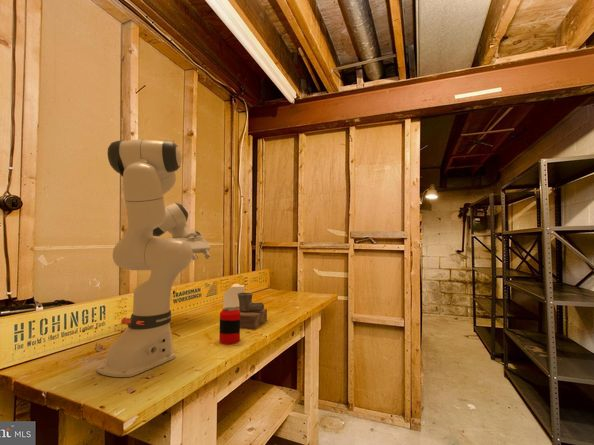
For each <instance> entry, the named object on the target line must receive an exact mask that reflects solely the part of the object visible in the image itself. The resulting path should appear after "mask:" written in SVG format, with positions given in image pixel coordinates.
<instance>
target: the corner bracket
mask: <svg viewBox="0 0 594 445" xmlns="http://www.w3.org/2000/svg"><path fill="white" fill-rule="evenodd" d="M237 293H245V285H244V284H240V283H233V284H232V285H231V286H230V287H229V288H228V289H227V290H226V291H225V292H224V293H223V300H222V301H223V307H222V308H228V307H239V299H238V295H237Z"/></svg>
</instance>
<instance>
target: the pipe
mask: <svg viewBox="0 0 594 445" xmlns="http://www.w3.org/2000/svg"><path fill="white" fill-rule="evenodd" d="M237 295H238V299H239V309H240V311H243V312H246V311H263V310H264V309H265V305H264V303H263V302H253V293H251V292H244V293H237Z"/></svg>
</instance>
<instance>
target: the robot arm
mask: <svg viewBox="0 0 594 445" xmlns="http://www.w3.org/2000/svg"><path fill="white" fill-rule="evenodd" d="M107 159H108V162H109V165H110V166H111V168H112V169H113V171H114V172H116V173H118V174H120V176H121V177H122V185H123V188H122V189H123V196H124V203H125V208H126V217H127V227H126V231H125V234H124V236H122V238H121V239H120V240H118V242H117V243H116V244H115V246H114V247H113V249H112V259H113V263H114V264H115V265H116V266H117V267H118V268H121V269H126V270H130V271H150V275H149V278H148V280H146V281H144V282H142V283H140V284H139V285H138V286H137V287H136V288H135V289H134V291H133V302H132V303H133V304H132V305H133V306H132V313H131V315H130V318H129V317H122V319H121V320H120V323H121V324H122V325H126V326H127V328H125V330H124V331H122V334H120V335H119V336H118V338H117V339H116V340H115V341H114V342H113V343H111V345H110V346H109V347H108V350H107V353H106V360H105V361H104V362H102V363H100V364H99V365H97V366H96V372H97V373H98V374H100V375H103V376H108V377H115V378H129V377H134V376H137V375H139V374H140V373H143V372H146V371H148V370H151V369H152V368H155V367H158V366H160V365H162V364H165V363H167V362H169V361H172V360H174V359H175V358H176V354H175V350H174V347H173V346H174V345H173V334H172V328H171V324H170V323H171V321H172V311H171V296H172V295H171V294H172V287H173V285H174V282H175V280H176V278H177V277H178V276H179V274H180V273H181V272H182V271H183V270H184V269H186V268H187V267H188V266H189V265H190V263H191V262H192V261H197V260H199V257H198V255H197V254H203V255H204V258H205V259H207V260H209V259H210V258H211V255H210V253H209V251H210V250H211V245H210V243H209V242H208V241H207V240H206V238H204V236H203V234H202V233H201V232H200V231H196V230H194V229H193V228H191V227H190V226H189V225H188V224H187V222H188V219H189V212H188V211H187V209H186V208H185V207H184V206H183V204H181V203H178V202H174V203H171V204H169V205H167V206H166V205H165V204H166V203H165V199H164V195H165V194H166V193H168V192H169V191H170V190H171V189H172V188H173V187H174V185H175V183H176V180H177V176H176V175H177V174H176V172H177V171H178V170H179V169H180V168H181V164H182V159H183V158H182V153H181V150H180V148H179V146H178V145H177V144H176V143H175V142H174V141H170V140H155V139H154V140H153V139H143V138H142V139H141V138H140V139H131V140H129V139H127V140H123V139H121V140H120V139H119V140H116V141H112V142H111V143H110V144H109V145H108V147H107ZM166 232H168V233H169V234H171V236H172V237H160V236H162V235H164V234H165V233H166Z"/></svg>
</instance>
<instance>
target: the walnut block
mask: <svg viewBox="0 0 594 445" xmlns="http://www.w3.org/2000/svg"><path fill="white" fill-rule="evenodd" d="M235 308H238V310H239V311H240V309H239V307H235ZM267 317H268V309H267V308H264V310H263V311H246V312H243V311H240V329H244V330H254V331H255V330H256V329H257V327H258V328H259V327H260V326H262V325H263V324H265V323H266V322H267V320H268V318H267Z"/></svg>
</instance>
